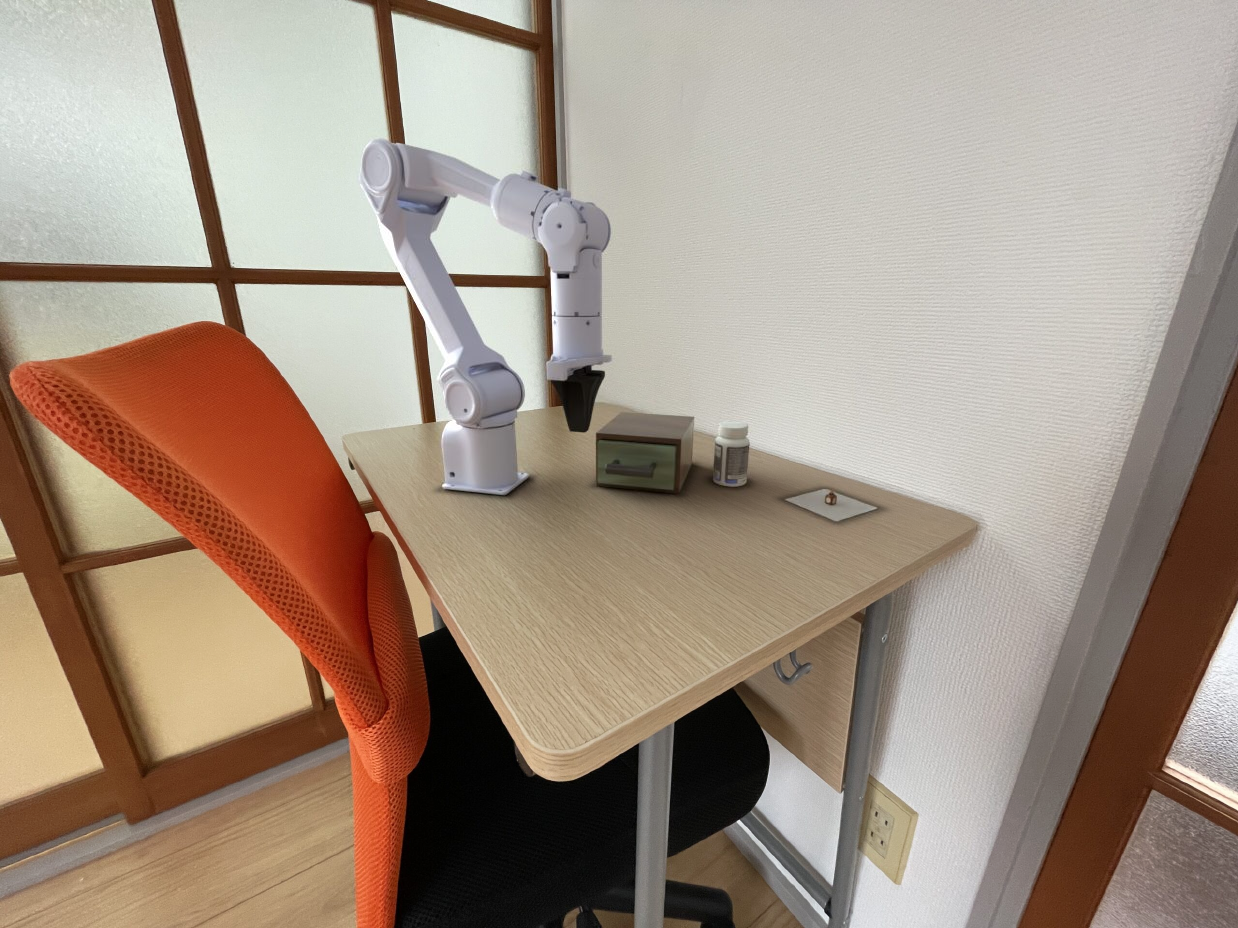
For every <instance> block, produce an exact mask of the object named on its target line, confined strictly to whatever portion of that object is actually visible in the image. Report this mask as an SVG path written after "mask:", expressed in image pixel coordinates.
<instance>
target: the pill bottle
mask: <svg viewBox="0 0 1238 928" xmlns="http://www.w3.org/2000/svg"><path fill="white" fill-rule="evenodd" d="M717 432H718V433H717V434H718V435H717V436H716V438H715V439H714V452H713V453H714V454H713V455H714V456H713V471H712V472H713V473H712V481H713V482H714V483H715V484H717V485H719V486H722V487H723V486H724V487H729V488H736V487H741V486H744V485H745V484H747V480H748V468H749V455H750V445H751V443H750V439H749V438H748V437H747V436H748V435H749V425H748V423H745V422H742V421H735V420H734V421H731V420H730V421H721V422H720V423H718V429H717Z"/></svg>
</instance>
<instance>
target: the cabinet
mask: <svg viewBox="0 0 1238 928" xmlns="http://www.w3.org/2000/svg"><path fill="white" fill-rule="evenodd" d="M694 431H695V416H690V415H689V416H688V415H674V414H673V415H672V414H658V413H657V414H656V413H643V412H628V411H627V412H626V411H620V412H619V413H618V414H617V415H616V416H615V417H614V418H612V419H611V420H610V421H609V422H607V423H606V424H605V425H604V426H603V427H601V428H600V429H599V430H597V432H595V486H596V487H604V488H605V487H607V488H617V489H624V490H625V489H626V490H627V489H628V490H634V491H635V490H636V491H647V492H656V493H667V494H675V495H676V494H678V495H679V494H680V492H681V490H682V488H683V485H684V483H685V481H686V479H687V476H688V473H689V471H690V469H691V467H692V465H693V449H694ZM608 439H610V440H623V441H636V442H649V443H662V444H675V446H676V470H675V488H674V490H666V489H656V488H645V487H635V486H625V485H615V484H605V483H598V441H599V440H608Z"/></svg>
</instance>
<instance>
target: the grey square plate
mask: <svg viewBox="0 0 1238 928" xmlns="http://www.w3.org/2000/svg"><path fill="white" fill-rule="evenodd" d="M784 501H786V502H788V503H791V504H793V505H796V506H798V507H800V508H802V509H806V510H808V511H810V512H812V513H815V514H817V515H820V516H821V517H825V518H827V519H829V520H832V521H833V522H840V521H843V520H846V519H850V518H853V517H855V516H858V515H861V514H864V513H869V512H871V511H874V510H878V507H876V506H873V505H870V504H868V503H865V502H862V501H859V500H857V499H854V498H852V497H848V496H846V495H843V494H840V493H837V492H836V491H834V490H833V489H831V490H830V489H827V488H823V489H819V490H815V491H812V492H807V493H803V494H800V495H795V496H792V497H789V498H785V499H784Z"/></svg>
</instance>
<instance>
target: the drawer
mask: <svg viewBox="0 0 1238 928" xmlns="http://www.w3.org/2000/svg"><path fill="white" fill-rule="evenodd" d="M635 442H636V441H635ZM635 442H634V441H623V440H610V439H608V440H599V441H598V483H605V484H615V485H625V486H635V487H645V488H656V489H666V490H674V488H675V470H676V446H675V444H665V445H661V444H662V443H661V444H648V443H649V442H648V443H635Z"/></svg>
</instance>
